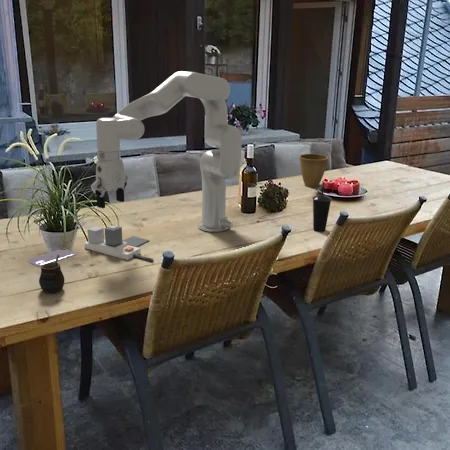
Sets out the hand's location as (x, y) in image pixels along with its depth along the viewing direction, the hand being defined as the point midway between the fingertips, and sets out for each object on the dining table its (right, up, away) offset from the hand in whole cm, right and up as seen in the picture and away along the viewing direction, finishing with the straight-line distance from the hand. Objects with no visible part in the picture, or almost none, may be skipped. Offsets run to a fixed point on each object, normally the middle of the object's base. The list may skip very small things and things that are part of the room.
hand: (110, 204), depth 179 cm
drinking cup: (+78, -9, +32) cm, 85 cm away
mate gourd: (-12, -27, -23) cm, 38 cm away
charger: (0, -15, +5) cm, 16 cm away
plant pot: (+86, +14, +100) cm, 133 cm away
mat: (+5, -14, +15) cm, 21 cm away
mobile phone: (-20, -19, 0) cm, 28 cm away
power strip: (+3, -17, +4) cm, 18 cm away
